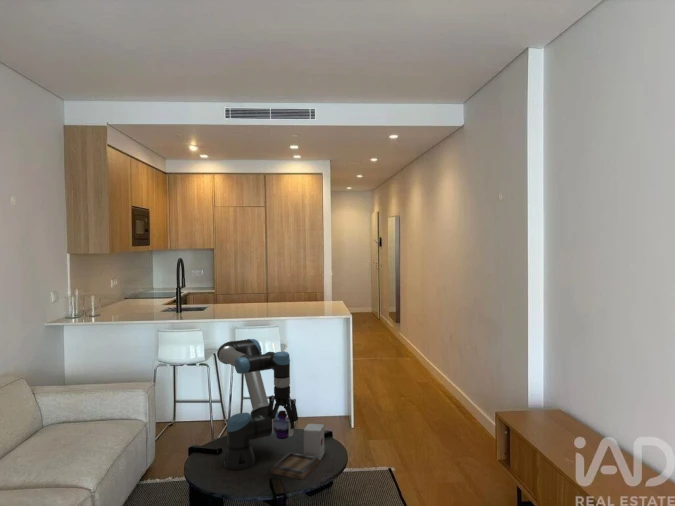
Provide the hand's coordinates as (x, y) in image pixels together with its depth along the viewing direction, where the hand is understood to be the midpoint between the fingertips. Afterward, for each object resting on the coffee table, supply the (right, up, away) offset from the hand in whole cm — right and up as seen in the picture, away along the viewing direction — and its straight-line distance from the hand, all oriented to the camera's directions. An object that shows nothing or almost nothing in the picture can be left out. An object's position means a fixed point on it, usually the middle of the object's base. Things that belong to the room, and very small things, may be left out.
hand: (282, 433), depth 217 cm
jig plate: (+6, -19, +7) cm, 21 cm away
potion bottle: (0, -2, 0) cm, 2 cm away
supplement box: (+14, -19, +20) cm, 31 cm away
